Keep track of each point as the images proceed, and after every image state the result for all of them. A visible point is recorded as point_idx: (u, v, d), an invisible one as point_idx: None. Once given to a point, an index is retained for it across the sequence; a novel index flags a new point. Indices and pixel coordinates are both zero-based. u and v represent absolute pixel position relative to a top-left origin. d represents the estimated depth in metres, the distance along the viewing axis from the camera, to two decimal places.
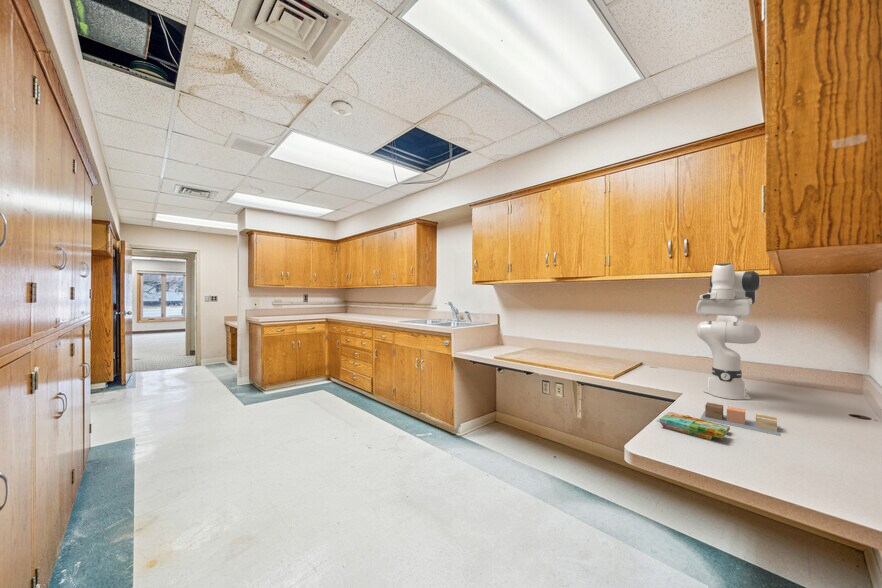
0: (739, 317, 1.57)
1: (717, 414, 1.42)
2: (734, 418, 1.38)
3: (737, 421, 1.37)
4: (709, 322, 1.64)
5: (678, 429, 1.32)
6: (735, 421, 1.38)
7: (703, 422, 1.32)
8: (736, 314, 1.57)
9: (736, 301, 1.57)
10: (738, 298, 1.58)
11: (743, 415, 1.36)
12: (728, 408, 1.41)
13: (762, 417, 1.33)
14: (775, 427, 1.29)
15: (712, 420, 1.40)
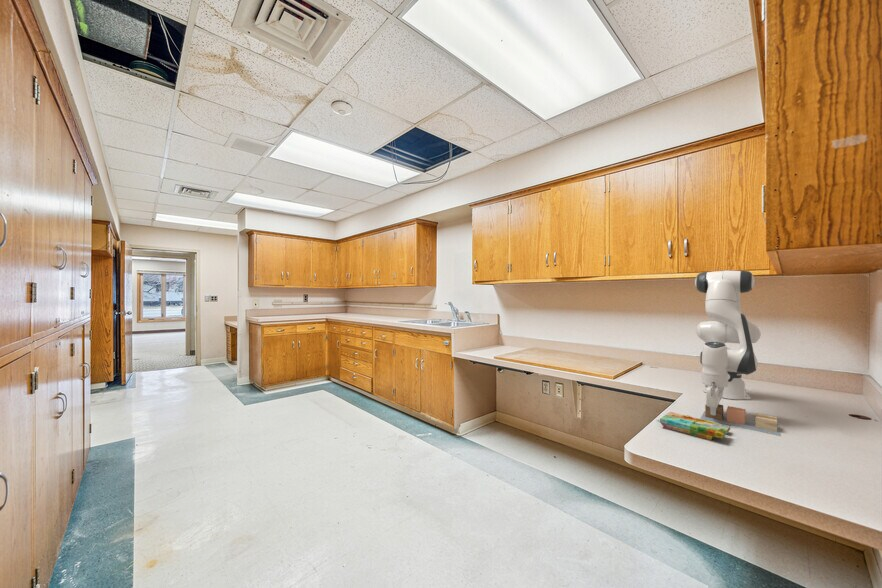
0: None
1: (717, 414, 1.42)
2: (734, 418, 1.38)
3: (737, 421, 1.37)
4: None
5: (678, 429, 1.32)
6: (735, 421, 1.38)
7: (703, 422, 1.32)
8: None
9: None
10: None
11: (743, 415, 1.36)
12: (728, 408, 1.41)
13: (762, 417, 1.33)
14: (775, 427, 1.29)
15: (712, 420, 1.40)
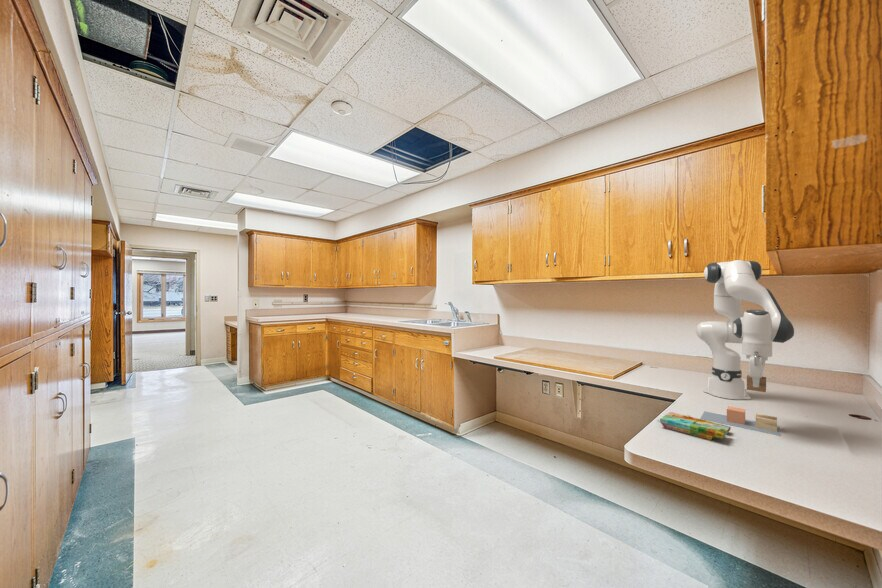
0: (752, 377, 1.32)
1: (760, 386, 1.32)
2: (734, 418, 1.38)
3: (737, 421, 1.37)
4: None
5: (679, 429, 1.32)
6: (735, 421, 1.38)
7: (704, 422, 1.32)
8: None
9: None
10: (754, 354, 1.31)
11: (743, 415, 1.36)
12: (728, 408, 1.41)
13: (762, 417, 1.33)
14: (775, 427, 1.29)
15: (712, 420, 1.40)
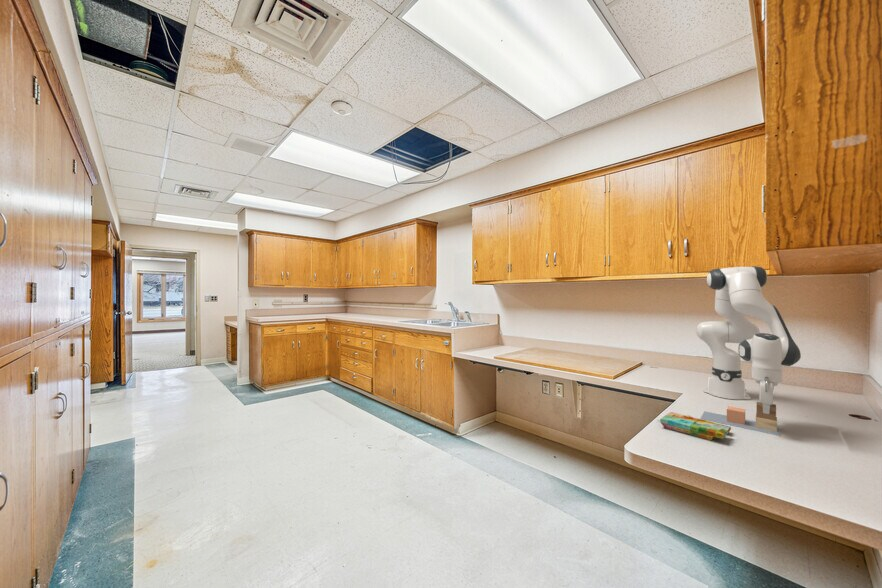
0: (762, 403, 1.30)
1: (771, 414, 1.31)
2: (734, 418, 1.38)
3: (737, 421, 1.37)
4: None
5: (679, 429, 1.32)
6: (735, 421, 1.38)
7: (704, 422, 1.32)
8: None
9: (760, 383, 1.31)
10: None
11: (743, 415, 1.36)
12: (728, 408, 1.41)
13: None
14: (775, 427, 1.29)
15: (712, 420, 1.40)
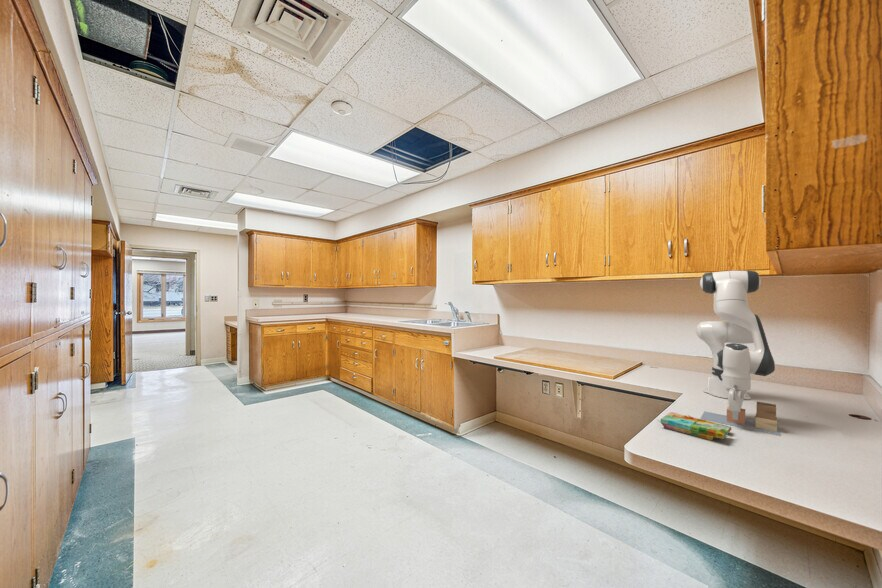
0: None
1: (771, 414, 1.31)
2: None
3: (737, 421, 1.37)
4: None
5: (679, 429, 1.31)
6: (735, 421, 1.38)
7: (704, 422, 1.32)
8: None
9: (729, 391, 1.37)
10: None
11: (743, 415, 1.36)
12: None
13: None
14: (775, 427, 1.29)
15: (712, 420, 1.40)
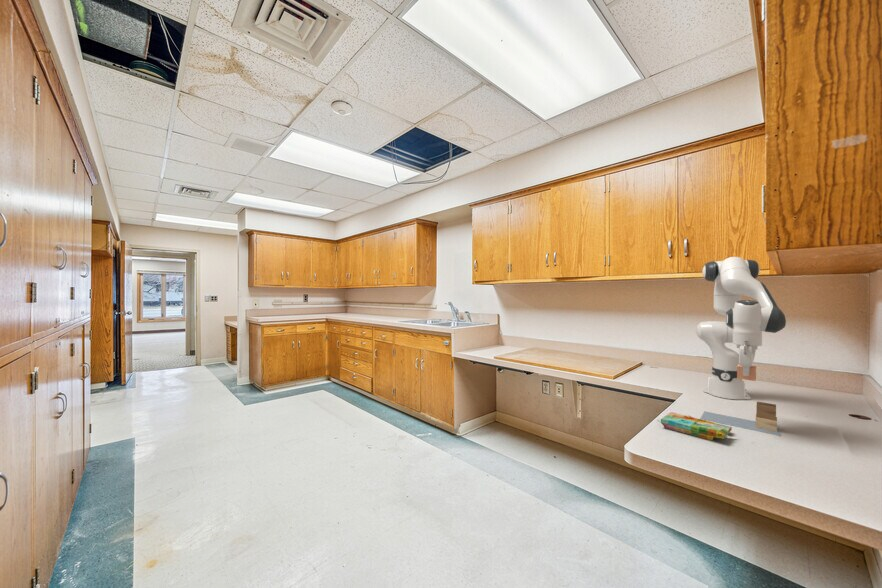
0: (742, 365, 1.35)
1: (771, 414, 1.31)
2: None
3: (748, 378, 1.35)
4: None
5: (679, 429, 1.31)
6: (746, 378, 1.35)
7: (705, 422, 1.32)
8: None
9: None
10: (744, 343, 1.34)
11: (754, 371, 1.34)
12: (738, 365, 1.38)
13: None
14: (775, 427, 1.29)
15: (712, 420, 1.40)
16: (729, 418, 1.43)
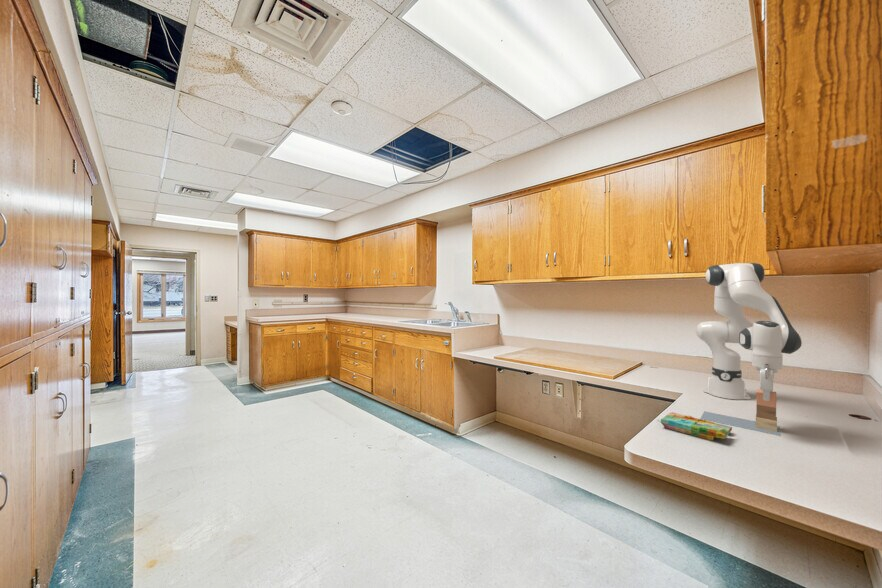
0: None
1: (770, 414, 1.31)
2: (765, 401, 1.32)
3: (768, 404, 1.31)
4: None
5: (680, 430, 1.31)
6: (766, 404, 1.31)
7: (705, 423, 1.32)
8: None
9: (760, 370, 1.31)
10: (764, 367, 1.30)
11: (775, 398, 1.30)
12: (758, 391, 1.34)
13: None
14: (775, 427, 1.29)
15: (712, 420, 1.40)
16: (729, 418, 1.43)
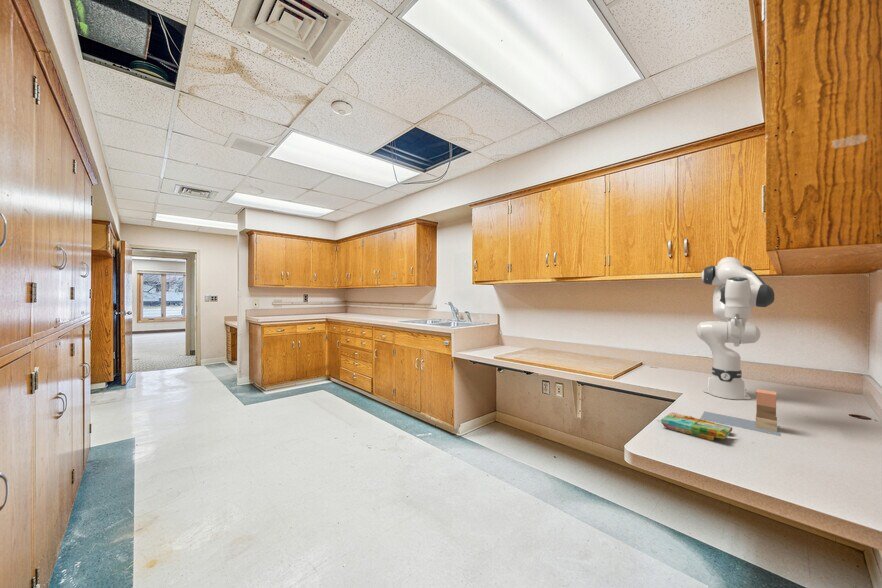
0: (733, 337, 1.46)
1: (770, 414, 1.31)
2: (765, 401, 1.32)
3: (768, 404, 1.31)
4: None
5: (680, 430, 1.31)
6: (766, 404, 1.31)
7: (705, 423, 1.32)
8: None
9: None
10: (735, 316, 1.46)
11: (775, 398, 1.30)
12: (758, 391, 1.34)
13: None
14: (775, 427, 1.29)
15: (712, 420, 1.40)
16: (729, 418, 1.43)
